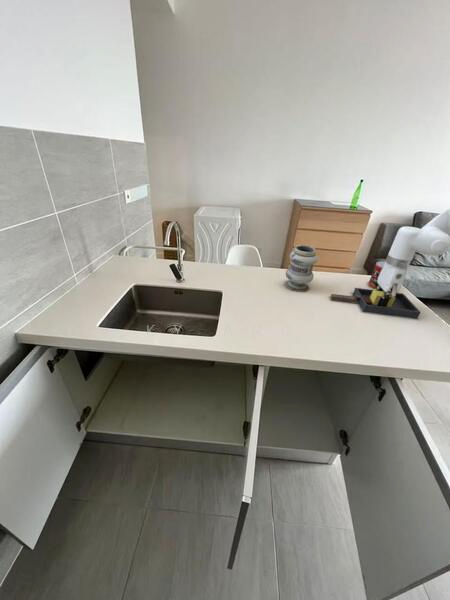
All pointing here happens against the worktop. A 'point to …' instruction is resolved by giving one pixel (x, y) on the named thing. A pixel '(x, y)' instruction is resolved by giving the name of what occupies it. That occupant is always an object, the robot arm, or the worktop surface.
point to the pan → (398, 308)
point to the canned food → (376, 274)
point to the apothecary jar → (301, 267)
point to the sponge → (378, 294)
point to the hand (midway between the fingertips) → (379, 302)
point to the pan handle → (345, 298)
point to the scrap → (368, 301)
